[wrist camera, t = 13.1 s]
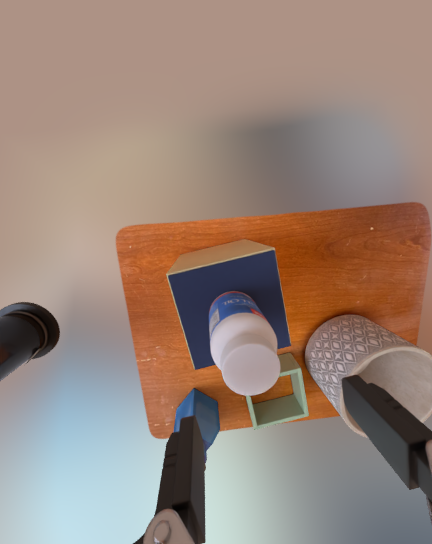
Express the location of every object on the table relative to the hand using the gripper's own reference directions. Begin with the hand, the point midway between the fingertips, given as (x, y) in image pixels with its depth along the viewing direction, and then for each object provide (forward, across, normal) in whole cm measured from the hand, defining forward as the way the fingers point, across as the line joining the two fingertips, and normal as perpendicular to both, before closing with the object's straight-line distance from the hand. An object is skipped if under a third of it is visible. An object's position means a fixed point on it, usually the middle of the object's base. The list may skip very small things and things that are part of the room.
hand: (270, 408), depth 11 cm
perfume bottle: (+29, +11, +26) cm, 41 cm away
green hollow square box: (+29, -5, +24) cm, 38 cm away
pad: (+13, 0, 0) cm, 13 cm away
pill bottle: (+13, 0, 0) cm, 13 cm away
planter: (+29, -21, +21) cm, 42 cm away
